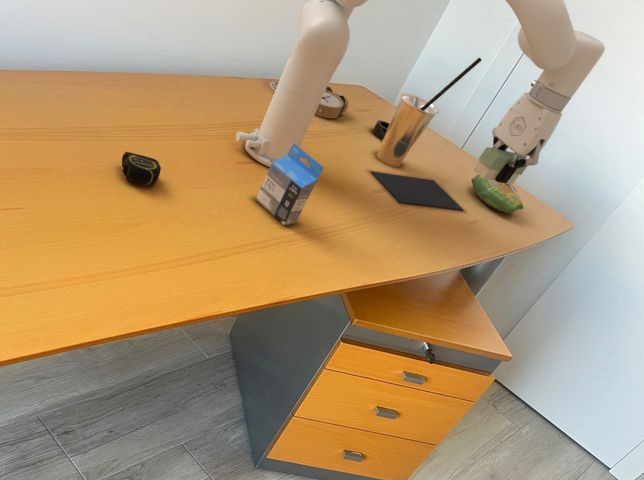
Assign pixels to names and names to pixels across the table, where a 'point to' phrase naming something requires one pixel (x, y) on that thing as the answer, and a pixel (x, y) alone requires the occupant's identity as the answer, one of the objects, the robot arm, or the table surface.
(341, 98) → the alarm clock
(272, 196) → the ink cartridge box
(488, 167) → the green and beige block
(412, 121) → the metal cup with straw
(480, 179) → the educational model
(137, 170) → the tape measure
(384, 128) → the duct tape
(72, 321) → the table surface
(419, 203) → the desk mat
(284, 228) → the table surface
